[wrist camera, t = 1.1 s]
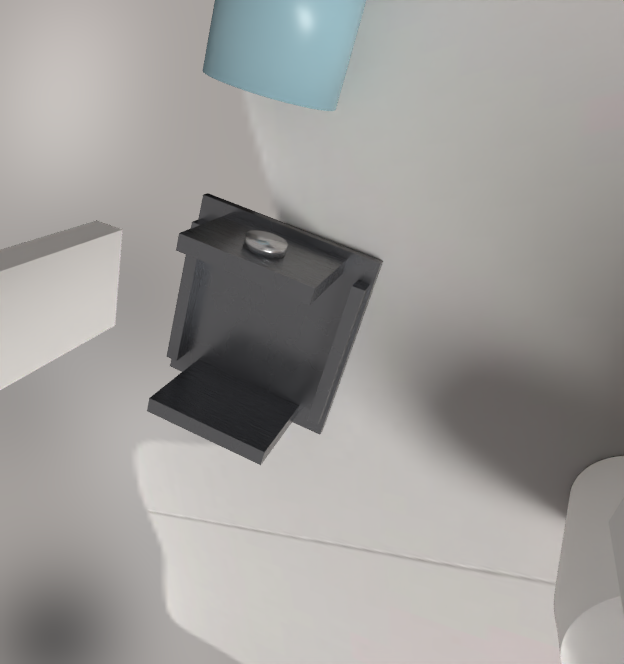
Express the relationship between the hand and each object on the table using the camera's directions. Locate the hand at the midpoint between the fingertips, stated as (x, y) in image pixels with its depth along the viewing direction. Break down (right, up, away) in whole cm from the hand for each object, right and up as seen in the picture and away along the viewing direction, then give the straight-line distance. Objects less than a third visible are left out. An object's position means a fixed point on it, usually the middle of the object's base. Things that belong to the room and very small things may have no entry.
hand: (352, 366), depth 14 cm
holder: (-4, +2, +25) cm, 26 cm away
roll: (-1, +18, +18) cm, 25 cm away
